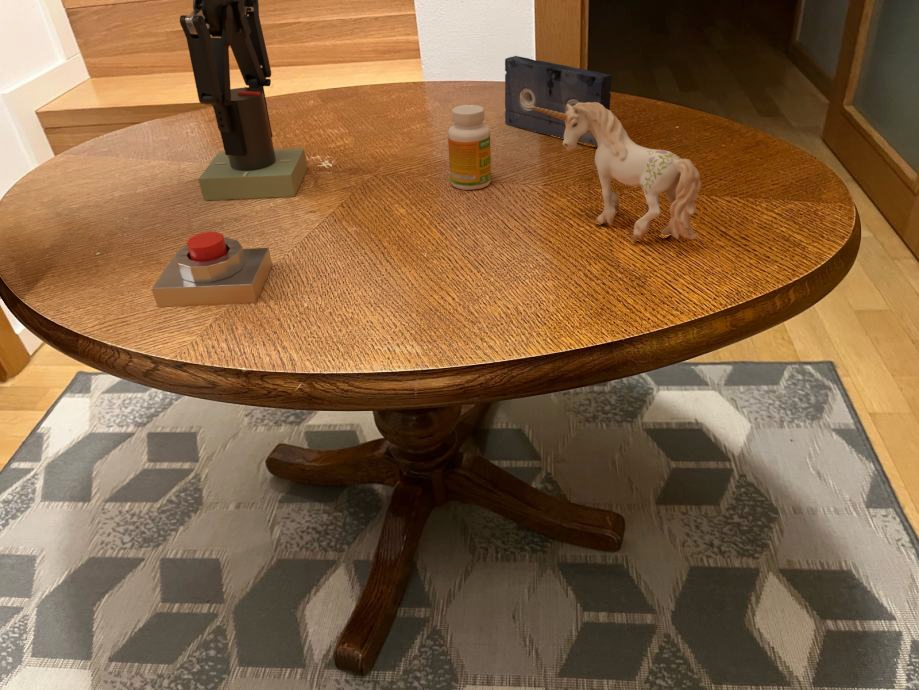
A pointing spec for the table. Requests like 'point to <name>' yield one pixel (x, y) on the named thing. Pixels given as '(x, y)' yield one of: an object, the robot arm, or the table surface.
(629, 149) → the unicorn figurine
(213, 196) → the dial panel
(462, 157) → the supplement bottle
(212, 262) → the button box
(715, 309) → the table surface
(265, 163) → the dial
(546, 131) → the vhs cassette tape
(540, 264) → the table surface
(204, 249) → the button
